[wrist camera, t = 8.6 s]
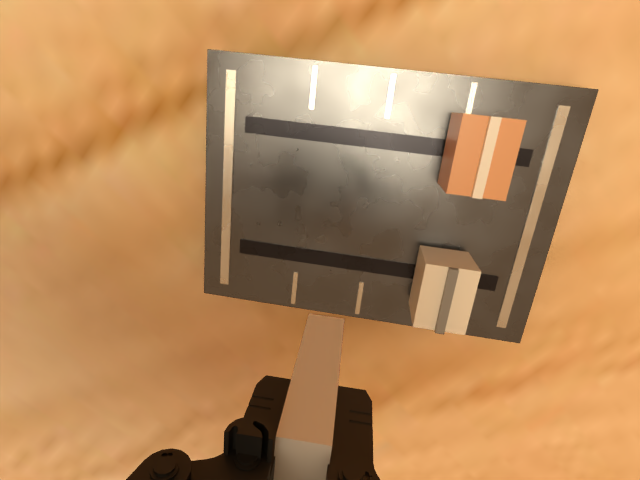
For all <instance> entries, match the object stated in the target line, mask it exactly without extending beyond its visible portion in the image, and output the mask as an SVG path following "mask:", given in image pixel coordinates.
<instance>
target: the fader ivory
mask: <svg viewBox="0 0 640 480" xmlns="http://www.w3.org/2000/svg"><path fill="white" fill-rule="evenodd" d="M480 275H481V270H480V269H479V267H478V266H477V264H476V263H475V261H474V260H473V258H472V256H471V255H470V253H469V252H465V251H458V250H451V249H444V248H437V247H430V246H423V245H420V247H419V252H418V257H417V262H416V267H415V272H414V277H413V282H412V287H411V292H410V297H409V307H410V313H411V319H412V325H413V327H417V328H423V329H429V330H435V333H438V334H444V332H448V333H454V334H461V335H465V334H466V330H467V326H468V322H469V318H470V314H471V310H472V307H473V303H474V299H475V295H476V291H477V287H478V283H479V279H480Z"/></svg>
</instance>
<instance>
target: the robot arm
mask: <svg viewBox="0 0 640 480" xmlns="http://www.w3.org/2000/svg"><path fill="white" fill-rule="evenodd" d="M344 320H345V319H343V318H337V317H330V316H323V315H316V314H309V315H308V318H307V322H306V326H305V330H304V333H303V337H302V341H301V344H300V348H299V352H298V356H297V359H296V363H295V367H294V370H293V374H292V378H291V379H285V378H279V377H273V376H265V377H264V378H263V379H262V380H261V381H259V382H258V383H257V384H256V387H255V389H254V392H253V395H252V397H251V400H250V402H249V406H248V408H247V410H246V413H245V415H244V418H240V419H237V420H235V421H234V422H232V423H231V424H229V425H228V427H227V428H226V430H225V431H224V453H223V454H221V455H219V456H217V457H214V458H210V459H205V460H197V461H191V460H190V458H189V456H188V455H187V454H186V453H184V452H183V451H181V450H177V449H165V450H161V451H158V452H156V453H153V454H152V455H150V456H149V457H148V458H147V459H145V460H144V461H143V462H142V463H141V464H140V465H139V466H138V467H137V469H136V470H135V471H134V472H133V473H132V474H131V475H130V476H129V477H128V478H127V479H126V480H380V478H379V477H378V476H377V474H376V472H375V469H374V464H373V430H372V401H371V399H370V397H369V395H368V394H367V392H366V390H360V389H354V388H348V387H342V386H338V381H339V371H340V361H341V351H342V340H343V330H344Z"/></svg>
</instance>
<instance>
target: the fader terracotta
mask: <svg viewBox="0 0 640 480" xmlns="http://www.w3.org/2000/svg"><path fill="white" fill-rule="evenodd" d="M526 122H527V120H520V119H511V118H502V117H493V116H484V115H475V114H466V113H451V118H450V123H449V128H448V133H447V138H446V143H445V147H444V152H443V157H442V162H441V167H440V172H439V177H438V182H437V183H438V184H439V185H440V187H441V188H442V189H443V190H444V191H445V193H446V194H454V195H461V196H469V197H472V198H476V199H482V198H485V199H492V200H500V201H506V198H507V194H508V190H509V187H510V183H511V179H512V175H513V171H514V167H515V164H516V160H517V156H518V152H519V148H520V145H521V141H522V137H523V133H524V129H525V125H526Z"/></svg>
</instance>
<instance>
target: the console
mask: <svg viewBox="0 0 640 480" xmlns="http://www.w3.org/2000/svg"><path fill="white" fill-rule="evenodd" d="M597 93H598V89H588V88H579V87H569V86H559V85H550V84H540V83H530V82H521V81H511V80H501V79H491V78H482V77H472V76H462V75H453V74H443V73H433V72H424V71H414V70H404V69H394V68H385V67H375V66H365V65H356V64H346V63H336V62H327V61H317V60H307V59H297V58H288V57H278V56H268V55H259V54H249V53H239V52H230V51H220V50H210V49H208V55H207V126H206V197H205V268H204V293H208V294H214V295H220V296H227V297H233V298H239V299H245V300H252V301H258V302H264V303H270V304H277V305H283V306H289V307H296V308H302V309H308V310H314V311H321V312H327V313H333V314H339V315H346V316H352V317H358V318H364V319H371V320H377V321H383V322H390V323H396V324H402V325H408V326H413V325H412V319H411V313H410V307H409V297H410V292H411V287H412V282H413V277H414V272H415V267H416V262H417V257H418V252H419V247H420V245H423V246H430V247H437V248H444V249H451V250H458V251H465V252H469V253H470V255H471V256H472V258H473V260H474V261H475V263H476V264H477V266H478V267H479V269H480V270H481V275H480V279H479V283H478V287H477V291H476V295H475V299H474V303H473V307H472V310H471V314H470V318H469V322H468V326H467V330H466V334H465V335H471V336H477V337H484V338H490V339H496V340H502V341H509V342H515V343H520V341H521V338H522V335H523V332H524V328H525V325H526V322H527V319H528V315H529V312H530V309H531V306H532V302H533V299H534V296H535V293H536V290H537V286H538V283H539V280H540V277H541V273H542V270H543V267H544V264H545V261H546V257H547V254H548V251H549V248H550V244H551V241H552V238H553V235H554V232H555V228H556V225H557V222H558V219H559V215H560V212H561V209H562V206H563V203H564V199H565V196H566V193H567V190H568V186H569V183H570V180H571V177H572V174H573V170H574V167H575V164H576V161H577V157H578V154H579V151H580V148H581V144H582V141H583V138H584V135H585V132H586V128H587V125H588V122H589V119H590V115H591V112H592V109H593V106H594V103H595V99H596V96H597ZM451 113H466V114H475V115H484V116H493V117H502V118H511V119H520V120H527V122H526V125H525V129H524V133H523V137H522V141H521V145H520V148H519V152H518V156H517V160H516V164H515V167H514V171H513V175H512V179H511V183H510V187H509V190H508V194H507V198H506V201H500V200H492V199H485V198H482V199H476V198H472V197H469V196H461V195H454V194H446V193H445V191H444V190H443V189H442V188H441V187H440V185H439V184H438V183H437V182H438V177H439V172H440V167H441V162H442V157H443V152H444V147H445V143H446V138H447V133H448V128H449V123H450V118H451Z"/></svg>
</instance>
